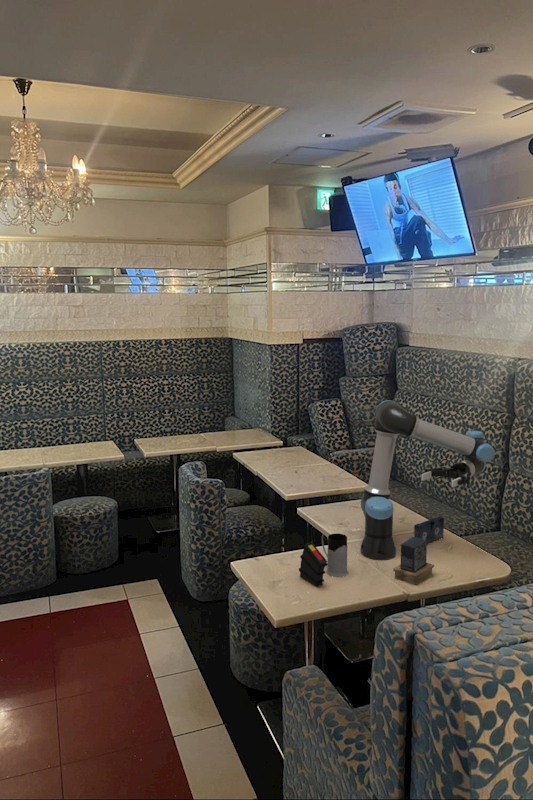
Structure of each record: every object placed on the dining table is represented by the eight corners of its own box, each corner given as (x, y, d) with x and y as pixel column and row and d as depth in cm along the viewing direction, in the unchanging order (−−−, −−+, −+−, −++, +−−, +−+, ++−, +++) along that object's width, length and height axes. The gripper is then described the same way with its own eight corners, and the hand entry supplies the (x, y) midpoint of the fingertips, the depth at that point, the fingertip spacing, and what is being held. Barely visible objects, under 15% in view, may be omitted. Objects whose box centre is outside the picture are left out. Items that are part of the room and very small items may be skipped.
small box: (412, 560, 250) (413, 535, 248) (427, 564, 246) (428, 539, 244) (399, 568, 242) (400, 543, 240) (414, 573, 238) (415, 547, 236)
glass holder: (335, 579, 242) (336, 542, 240) (313, 566, 254) (313, 531, 252) (352, 573, 247) (353, 538, 245) (330, 561, 259) (330, 527, 256)
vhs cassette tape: (439, 536, 286) (439, 516, 284) (444, 538, 283) (445, 517, 282) (412, 546, 275) (413, 524, 274) (417, 548, 273) (418, 526, 271)
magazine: (301, 568, 249) (311, 541, 241) (320, 592, 240) (331, 565, 232) (294, 570, 247) (304, 543, 239) (312, 595, 238) (323, 567, 230)
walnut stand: (393, 578, 243) (393, 568, 242) (411, 567, 253) (411, 557, 252) (415, 586, 236) (416, 576, 235) (433, 574, 246) (433, 564, 246)
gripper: (489, 484, 258) (465, 496, 243) (436, 473, 275) (410, 483, 261) (490, 467, 257) (466, 477, 242) (436, 457, 274) (410, 466, 260)
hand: (437, 480), depth 251 cm, fingers open, 13 cm apart
